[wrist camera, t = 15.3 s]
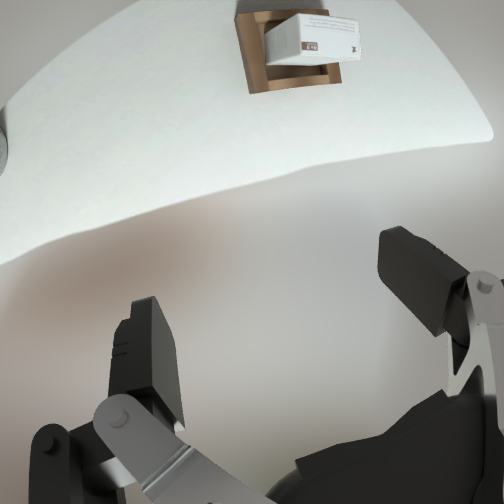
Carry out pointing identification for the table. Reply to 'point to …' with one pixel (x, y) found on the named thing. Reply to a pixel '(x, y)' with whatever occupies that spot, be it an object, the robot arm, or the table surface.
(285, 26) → the skincare box
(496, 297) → the robot arm
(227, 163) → the table surface
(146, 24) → the table surface
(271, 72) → the wooden tray
